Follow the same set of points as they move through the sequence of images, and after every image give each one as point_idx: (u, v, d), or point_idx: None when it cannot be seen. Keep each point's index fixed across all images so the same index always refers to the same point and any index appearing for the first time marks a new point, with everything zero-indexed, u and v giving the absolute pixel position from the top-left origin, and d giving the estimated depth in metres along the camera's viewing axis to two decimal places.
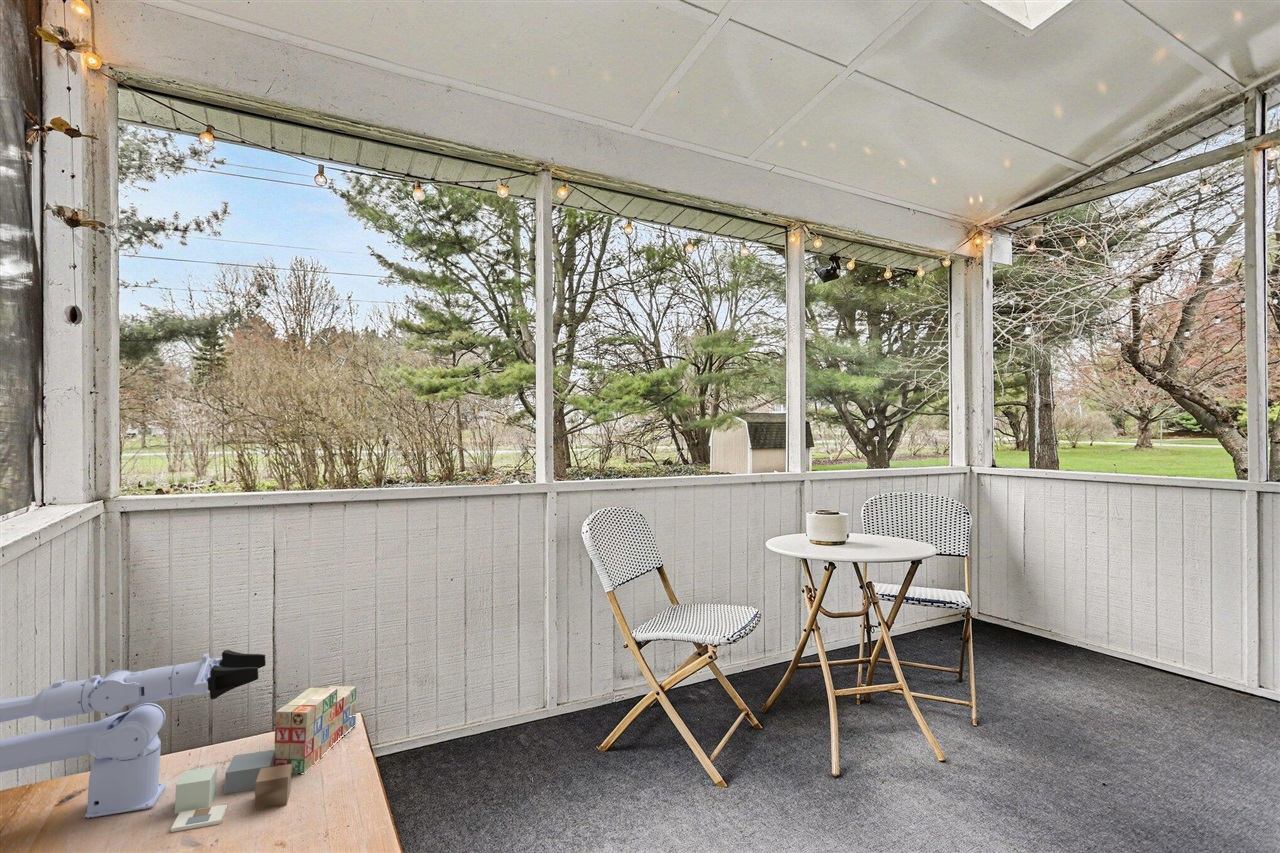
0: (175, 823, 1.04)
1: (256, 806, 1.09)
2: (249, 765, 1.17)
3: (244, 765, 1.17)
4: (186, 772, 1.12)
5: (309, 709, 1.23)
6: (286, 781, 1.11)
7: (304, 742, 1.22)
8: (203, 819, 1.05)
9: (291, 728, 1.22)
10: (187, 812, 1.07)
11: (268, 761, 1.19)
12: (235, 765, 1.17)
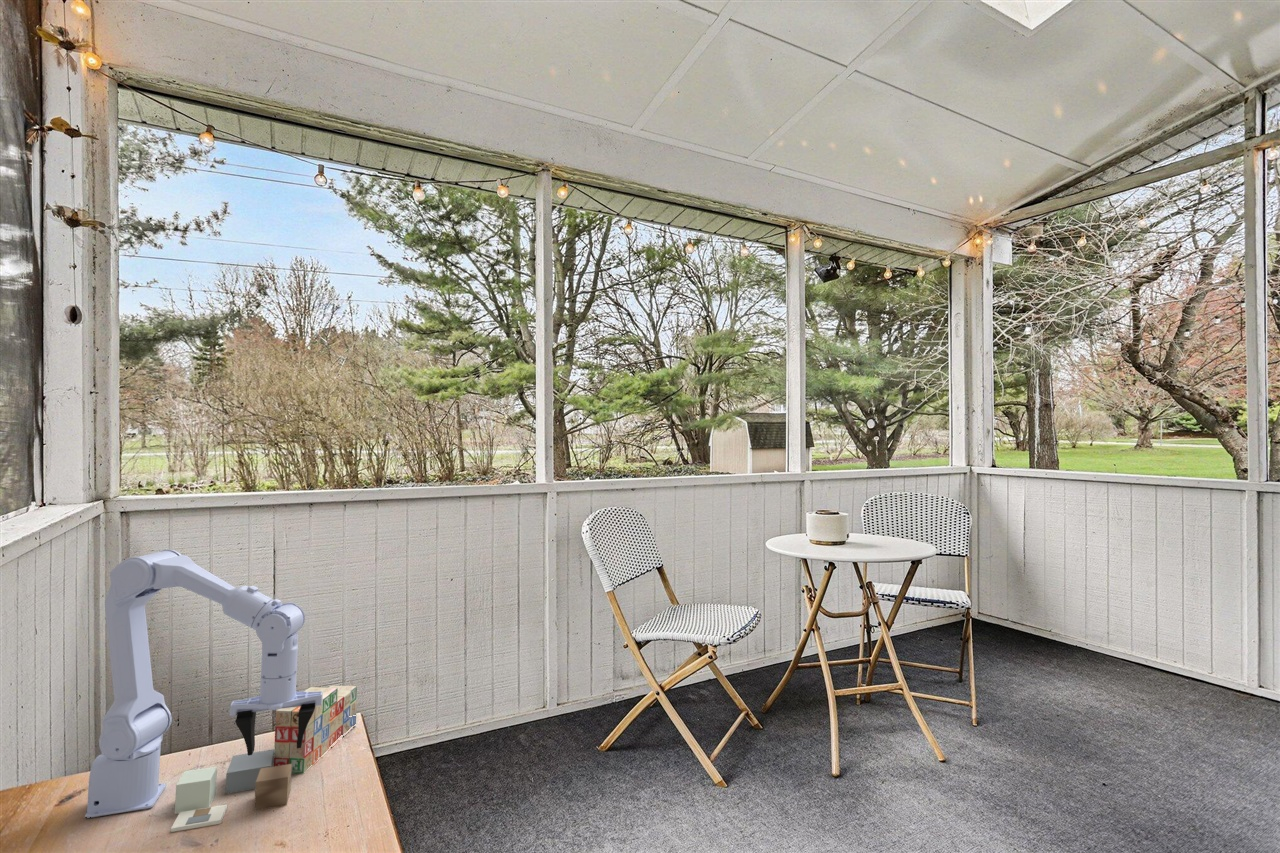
0: (175, 823, 1.04)
1: (256, 806, 1.09)
2: (250, 765, 1.17)
3: (245, 765, 1.17)
4: (186, 772, 1.12)
5: None
6: (286, 781, 1.11)
7: (304, 741, 1.22)
8: (203, 819, 1.05)
9: (291, 727, 1.22)
10: (187, 812, 1.07)
11: (268, 760, 1.19)
12: (236, 765, 1.17)
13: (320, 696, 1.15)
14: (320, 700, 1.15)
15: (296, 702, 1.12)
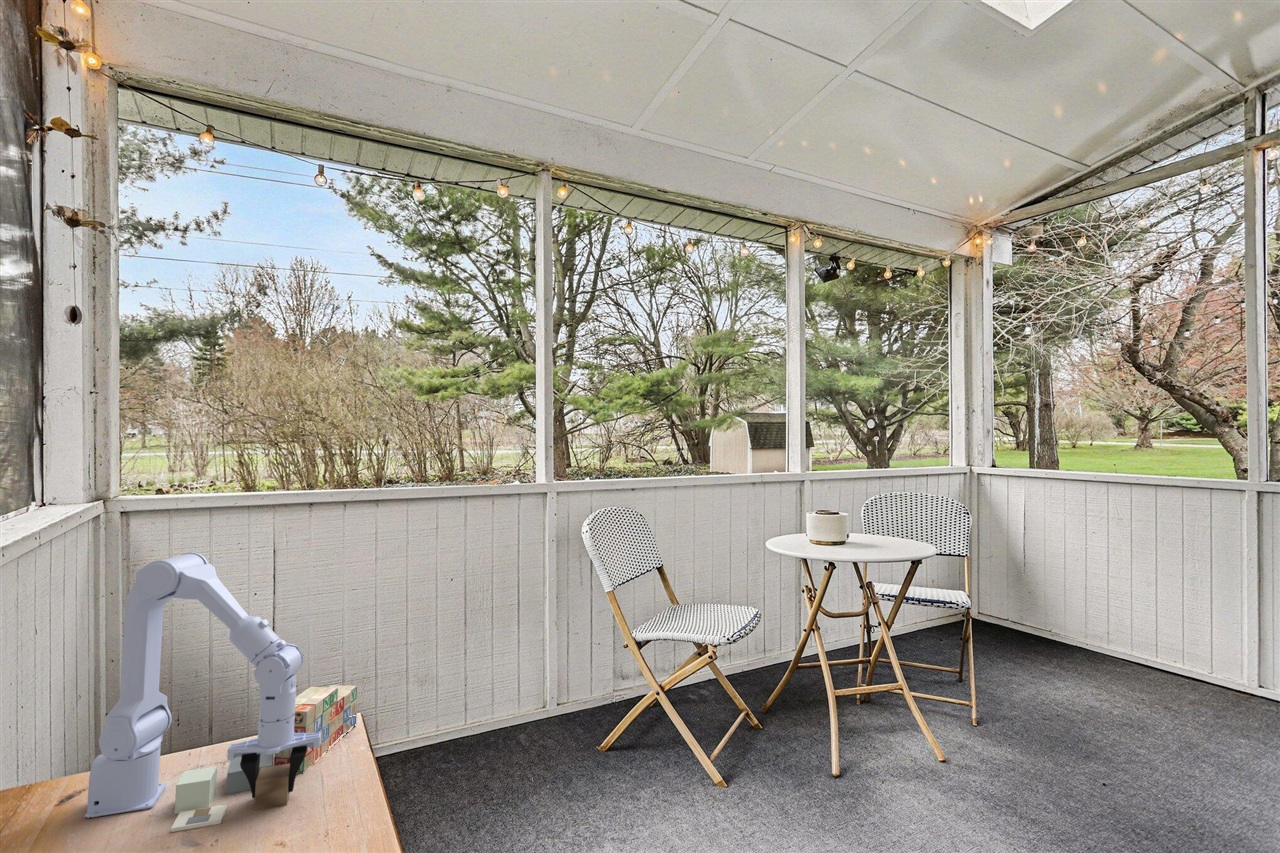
0: (175, 823, 1.04)
1: (256, 805, 1.09)
2: None
3: None
4: (186, 772, 1.12)
5: (309, 708, 1.24)
6: (286, 780, 1.11)
7: None
8: (203, 819, 1.05)
9: None
10: (187, 812, 1.07)
11: (269, 760, 1.19)
12: (236, 766, 1.17)
13: (318, 738, 1.15)
14: (318, 742, 1.15)
15: (294, 745, 1.12)
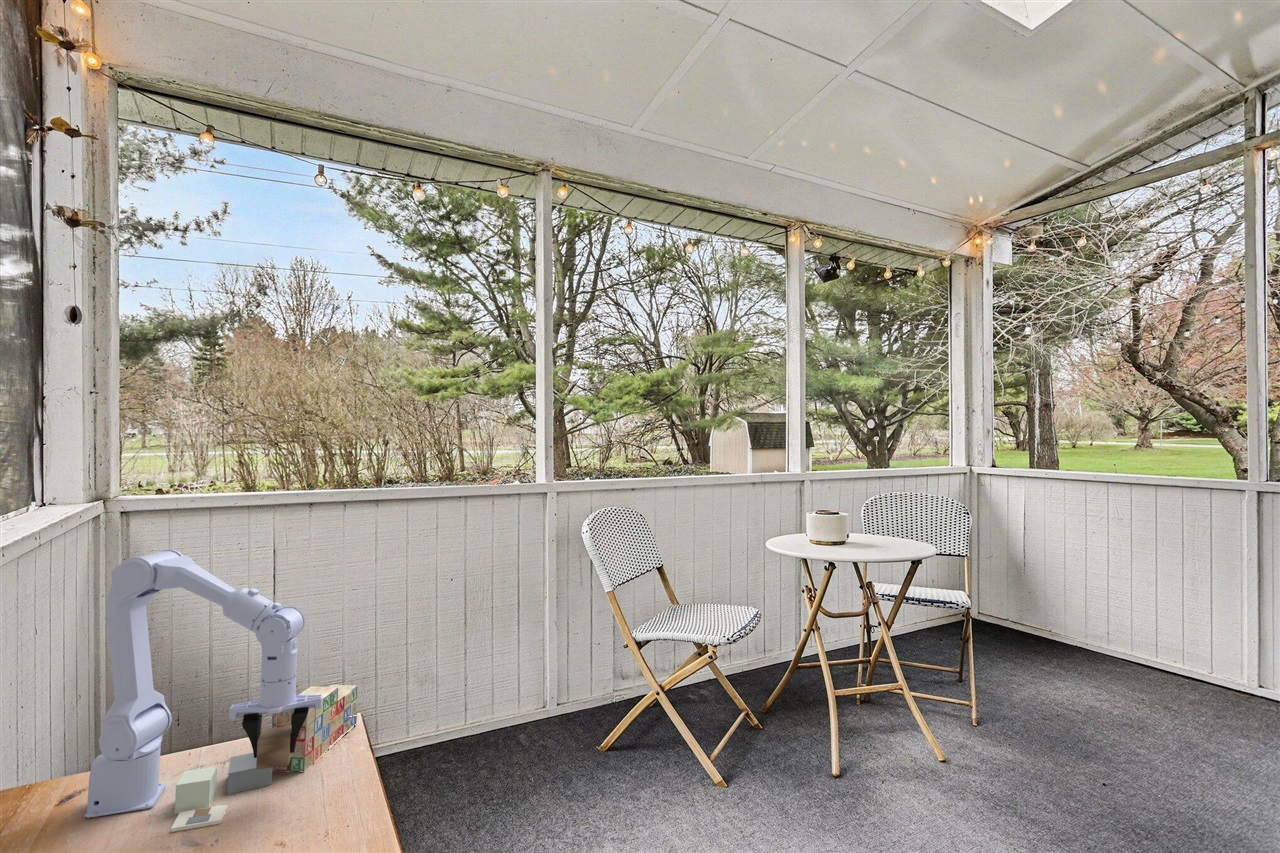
0: (175, 823, 1.04)
1: (258, 764, 1.10)
2: (251, 765, 1.17)
3: (245, 765, 1.17)
4: (186, 772, 1.12)
5: None
6: (288, 741, 1.11)
7: (304, 740, 1.22)
8: (203, 819, 1.05)
9: None
10: (187, 812, 1.07)
11: None
12: (236, 766, 1.17)
13: (320, 699, 1.15)
14: (320, 703, 1.15)
15: (296, 706, 1.12)
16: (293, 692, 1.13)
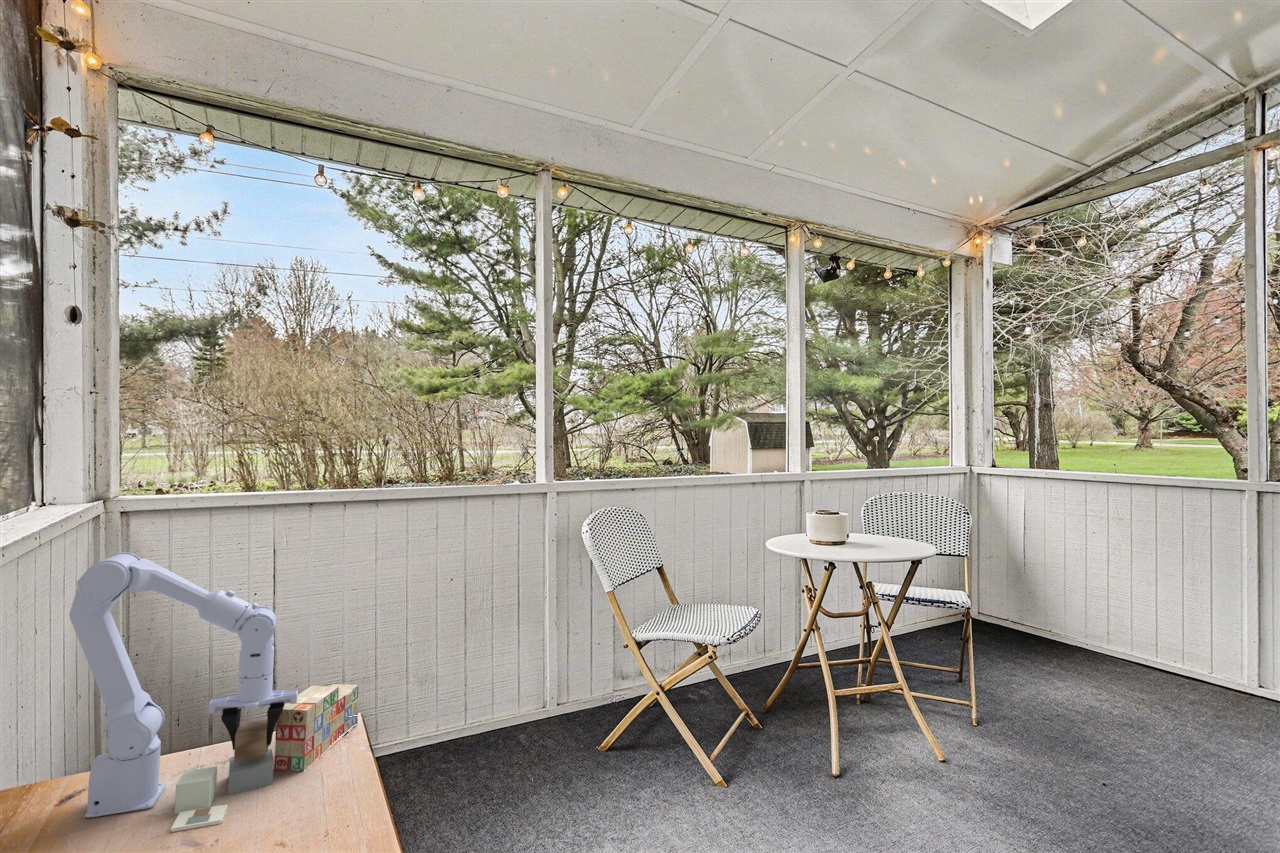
0: (175, 823, 1.04)
1: (235, 756, 1.16)
2: (251, 765, 1.17)
3: (246, 765, 1.17)
4: (186, 772, 1.12)
5: (309, 707, 1.24)
6: (264, 734, 1.18)
7: (304, 740, 1.23)
8: (203, 819, 1.05)
9: (292, 725, 1.23)
10: (187, 812, 1.07)
11: (269, 759, 1.19)
12: (236, 766, 1.17)
13: (295, 695, 1.21)
14: (295, 699, 1.21)
15: (272, 700, 1.19)
16: (269, 688, 1.20)
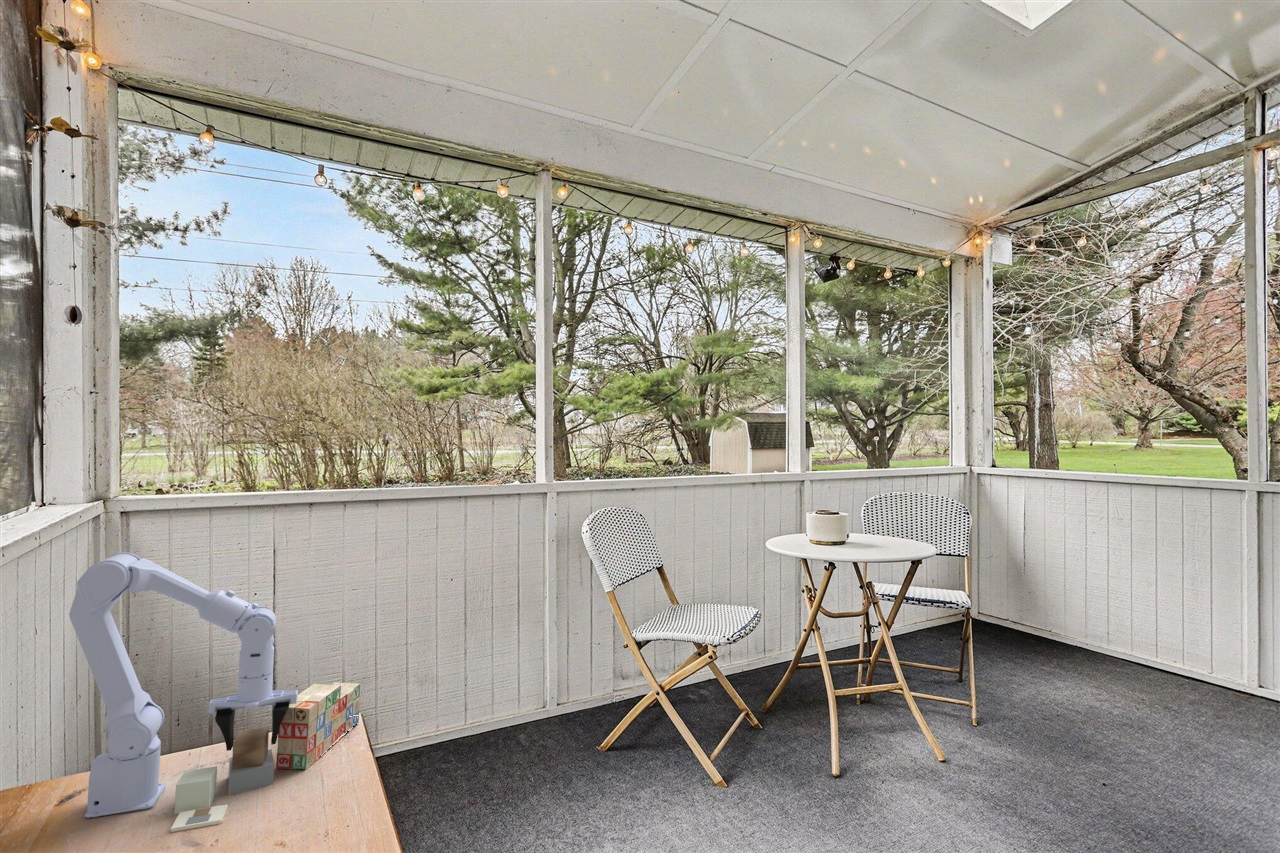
0: (175, 823, 1.04)
1: (233, 765, 1.16)
2: None
3: None
4: (186, 772, 1.12)
5: (312, 705, 1.25)
6: (262, 742, 1.17)
7: (306, 738, 1.23)
8: (203, 819, 1.05)
9: (294, 723, 1.23)
10: (187, 812, 1.07)
11: (270, 759, 1.19)
12: None
13: (295, 695, 1.21)
14: (295, 699, 1.21)
15: (272, 700, 1.19)
16: (269, 688, 1.19)
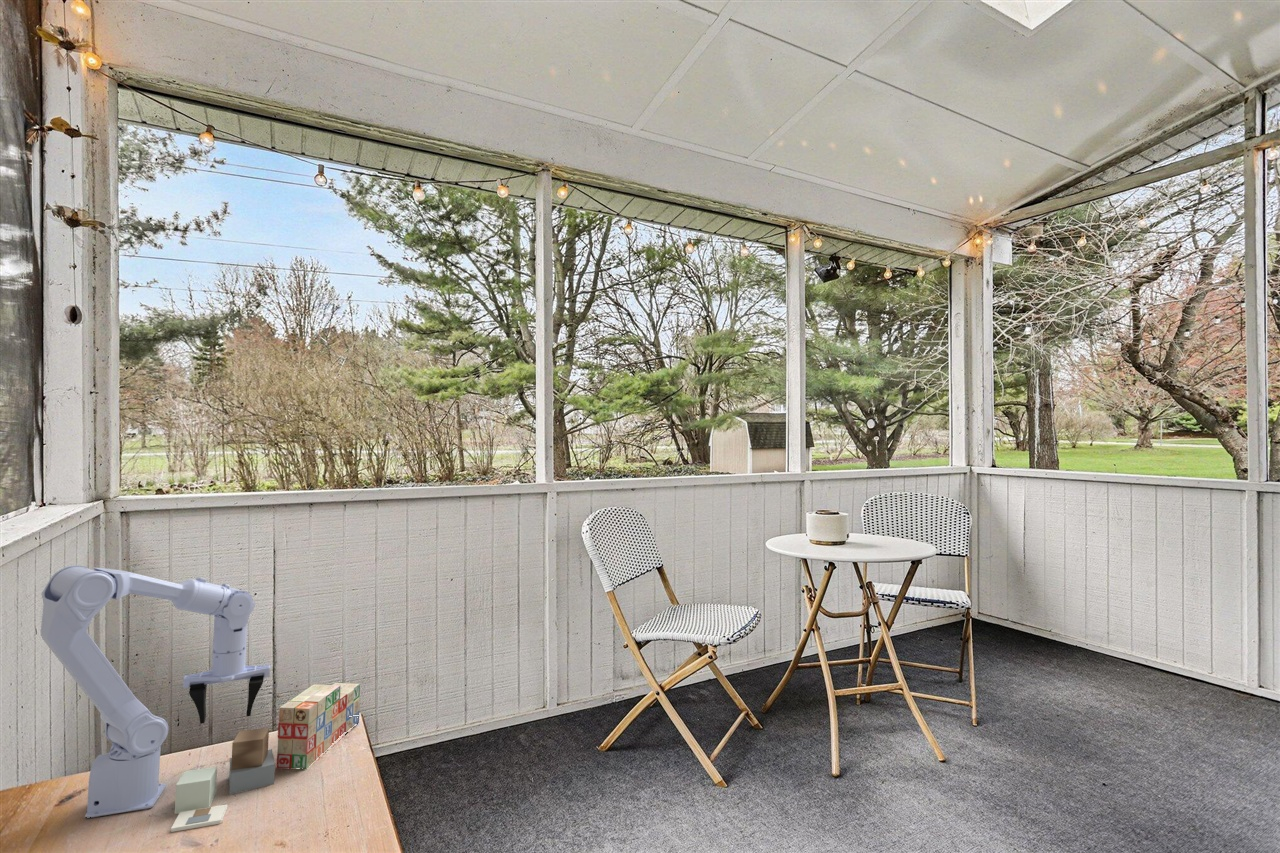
0: (175, 823, 1.04)
1: (232, 765, 1.15)
2: None
3: None
4: (186, 772, 1.12)
5: (311, 705, 1.25)
6: (261, 743, 1.17)
7: (306, 738, 1.23)
8: (203, 819, 1.05)
9: (294, 724, 1.24)
10: (187, 812, 1.07)
11: (270, 759, 1.19)
12: None
13: (268, 669, 1.27)
14: (268, 672, 1.27)
15: (246, 674, 1.24)
16: (243, 662, 1.25)
